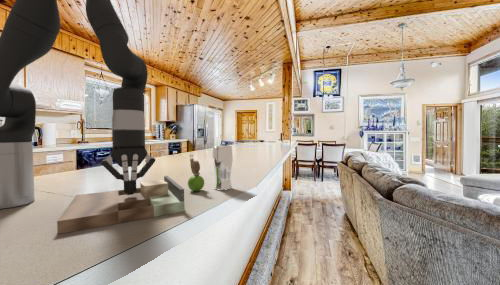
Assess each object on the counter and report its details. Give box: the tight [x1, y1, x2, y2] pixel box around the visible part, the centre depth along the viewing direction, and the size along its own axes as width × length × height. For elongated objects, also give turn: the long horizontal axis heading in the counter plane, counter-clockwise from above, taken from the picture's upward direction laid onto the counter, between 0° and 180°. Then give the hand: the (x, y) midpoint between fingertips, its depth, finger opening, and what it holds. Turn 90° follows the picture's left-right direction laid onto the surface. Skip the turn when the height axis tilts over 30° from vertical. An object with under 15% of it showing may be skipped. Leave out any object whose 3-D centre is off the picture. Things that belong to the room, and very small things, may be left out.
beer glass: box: [212, 145, 234, 191], centre depth 77 cm, size 7×7×15 cm
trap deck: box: [56, 175, 185, 235], centre depth 57 cm, size 24×22×6 cm
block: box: [139, 179, 168, 198], centre depth 62 cm, size 6×6×3 cm
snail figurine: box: [187, 154, 205, 192], centre depth 75 cm, size 5×6×12 cm
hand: (130, 194), depth 58 cm, fingers closed
